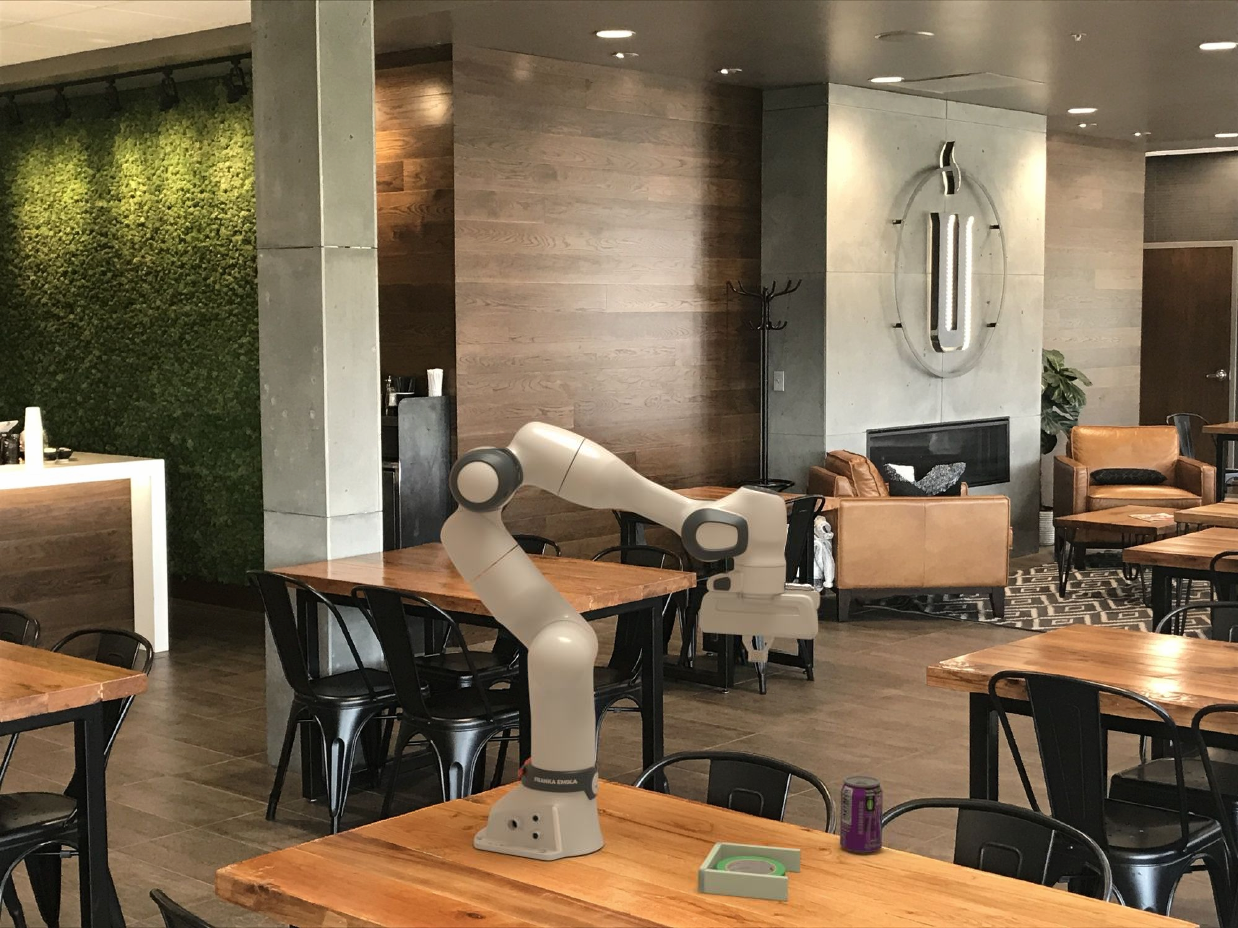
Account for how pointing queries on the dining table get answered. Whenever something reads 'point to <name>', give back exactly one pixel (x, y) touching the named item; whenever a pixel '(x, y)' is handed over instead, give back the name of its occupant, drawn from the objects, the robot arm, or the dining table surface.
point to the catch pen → (747, 882)
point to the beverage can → (861, 814)
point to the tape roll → (752, 865)
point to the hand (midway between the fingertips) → (757, 661)
